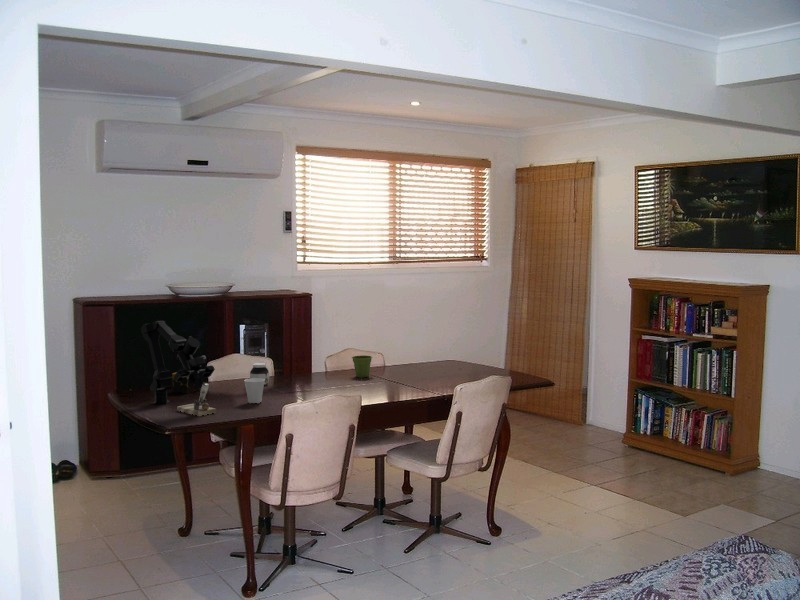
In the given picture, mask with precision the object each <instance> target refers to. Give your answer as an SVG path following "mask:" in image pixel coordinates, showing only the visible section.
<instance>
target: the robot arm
mask: <svg viewBox="0 0 800 600" xmlns="http://www.w3.org/2000/svg"><path fill="white" fill-rule="evenodd" d="M140 332H141V334H142V338H143V339H144V340H145V341H146V342H147V343H148V348H149V352H150V357H151V361H152V364H153V369H154V373H153V375H152V380H153V381H152V382H151V384H150V386H149V389H150V392H153V393H154V401H153V402H152V404H153V405H167V404H168V403H169V402H170V400H168V391H169V390H172V388H173V380H172V372H171V370H168V369H167V368H166V366H165V362H164V357H163V354H162V348H161V344H160V340H159V339H160V337H161V336H162V337H163V338H164V339H165V340H166V341H167V342H168V347H169V349H170V350H171V351H172V352H173V353H175V352H176V353H177V354H176V355H177V356H176V361H180V363H181V364H182V367H181V368H182V369H178V370H177V371H176V372H177V373H176V372H175V373H176V374H175V376H174V380H175V382H180V381H182V377H188V380H187V382H191V383H193V384H194V385H196V386H198V387H199V388H200V389H201V387H202V384H203V383H204V378H210V377H211V376H212V375H213V373H214V372H215V370H216V369H215V367H214V365H211V364H209V365H205V366H204V367H203V369H201V368H202V365H203V364H205V363H207V362H208V359H207V356H206V355H204V354H203V355H201V356H197V357H193V355H194V354H195V353H196V352H197V351H198V349H199V347H200V345H201V343H200V341H199V340H198V339H197V338H195V337H193V336H192V335H190V336H188V337H187V338H185V337H183V336H181V335H178V334H177V333H176V332H174V331H173V329H172V328H171V327H170V326H169V325H168V324H167V323H166V320H155V321H153V322H151V323H144V324H142V326H141V328H140Z"/></svg>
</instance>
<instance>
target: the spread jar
mask: <svg viewBox="0 0 800 600" xmlns="http://www.w3.org/2000/svg"><path fill="white" fill-rule="evenodd" d="M269 371H270V370H269V369H268V368H267V364H266V363H264V362H256V363H253V364H252V368H251V370H250V371H249V379H251V378H261V379H265V381H264V387H266V386H267V385H268V384H269V382H270V372H269Z"/></svg>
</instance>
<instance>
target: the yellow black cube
mask: <svg viewBox="0 0 800 600" xmlns="http://www.w3.org/2000/svg"><path fill="white" fill-rule="evenodd" d="M176 373H177V371H176V372H173V373H172V372H171V376H172V381H173V382H172V392H173V393H178V392H182V393H181V394H191V393H190V392H192V393H194V391H195V392H198V391H197V390H199V391H201V388H199V387H198V386H196V385H194V384H193V383H191V382H187V380H188V377H182V381H180V382H175V380H174V376H175V374H176Z"/></svg>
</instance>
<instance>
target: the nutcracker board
mask: <svg viewBox="0 0 800 600" xmlns="http://www.w3.org/2000/svg"><path fill="white" fill-rule="evenodd" d="M176 410H177V412H180V411H181V412H180V413H184V412H185V413H184V414H188V415H192V414H193V415H192V416H195V415H197V417H203V416H202V415H204V416H208V415H207V414H209V415H213V414H212V413H214V414H217V408H214V407H210V404H209V403H208V399H206V398H205V399H204V404H203V405H202V406H199V400H197V399H193V403H189V404H185V405H184V404H183V405H179V406H178V405H177V409H176Z"/></svg>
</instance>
